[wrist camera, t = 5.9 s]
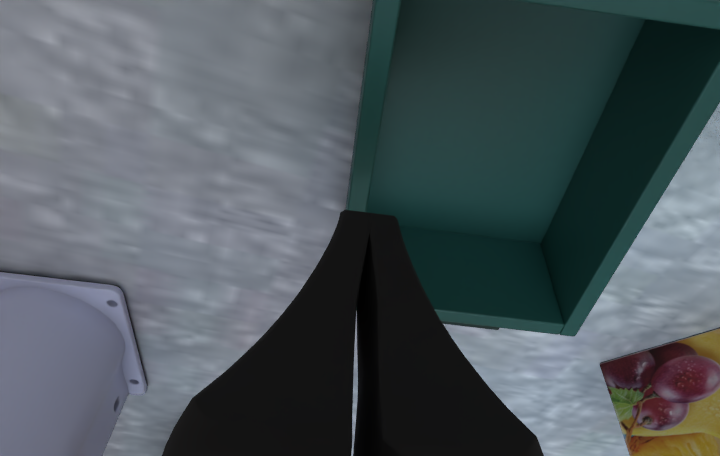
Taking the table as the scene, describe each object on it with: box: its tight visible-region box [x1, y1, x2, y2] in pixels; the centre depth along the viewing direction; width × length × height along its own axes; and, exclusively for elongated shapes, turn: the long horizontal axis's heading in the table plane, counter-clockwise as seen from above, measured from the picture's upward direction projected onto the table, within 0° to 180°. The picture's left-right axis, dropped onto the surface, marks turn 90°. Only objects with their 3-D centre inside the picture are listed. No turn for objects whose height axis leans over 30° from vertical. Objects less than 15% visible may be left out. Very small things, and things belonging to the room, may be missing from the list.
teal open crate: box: [346, 0, 720, 336], centre depth 18 cm, size 13×5×9 cm
